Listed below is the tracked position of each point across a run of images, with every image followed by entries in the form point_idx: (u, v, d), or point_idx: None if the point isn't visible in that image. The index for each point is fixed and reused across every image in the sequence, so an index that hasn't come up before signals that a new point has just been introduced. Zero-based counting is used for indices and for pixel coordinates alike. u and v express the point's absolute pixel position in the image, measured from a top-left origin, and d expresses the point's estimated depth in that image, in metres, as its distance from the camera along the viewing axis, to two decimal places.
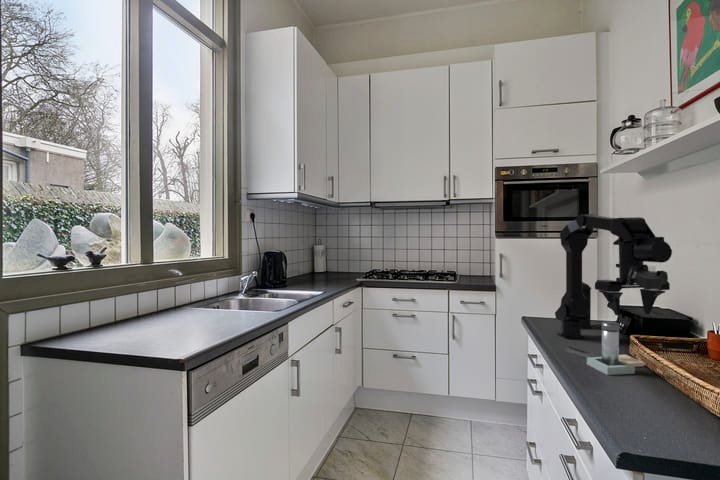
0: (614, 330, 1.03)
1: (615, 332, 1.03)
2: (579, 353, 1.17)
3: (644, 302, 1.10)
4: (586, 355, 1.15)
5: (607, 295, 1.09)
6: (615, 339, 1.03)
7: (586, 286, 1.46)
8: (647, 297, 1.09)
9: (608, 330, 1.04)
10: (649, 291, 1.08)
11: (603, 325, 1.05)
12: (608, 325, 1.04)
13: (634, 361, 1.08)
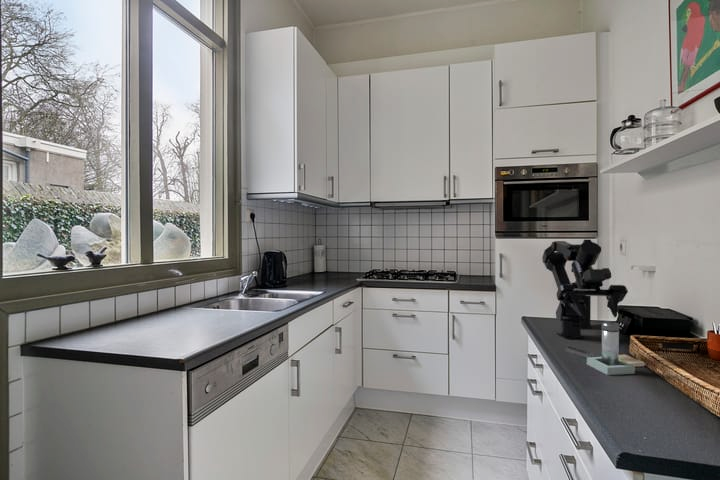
0: (614, 330, 1.03)
1: (615, 332, 1.03)
2: (579, 353, 1.17)
3: (611, 309, 1.14)
4: (586, 355, 1.15)
5: (570, 302, 1.19)
6: (615, 339, 1.03)
7: None
8: (611, 303, 1.15)
9: (608, 330, 1.04)
10: (611, 297, 1.16)
11: (603, 325, 1.05)
12: (608, 325, 1.04)
13: (634, 361, 1.08)
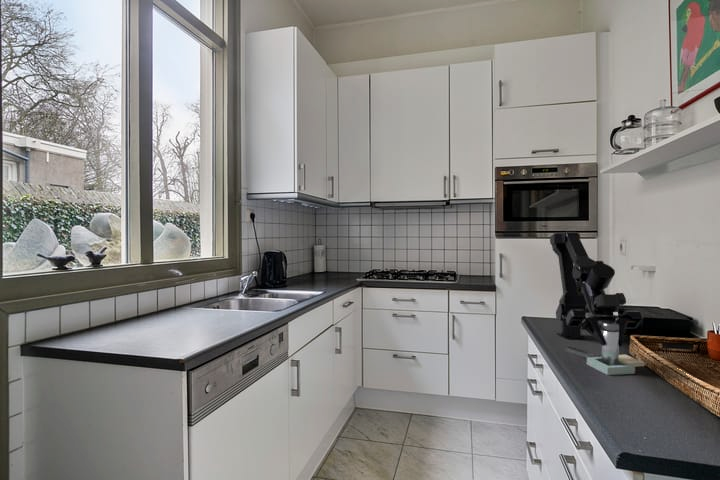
0: (614, 330, 1.03)
1: (615, 332, 1.03)
2: (579, 353, 1.17)
3: None
4: (586, 355, 1.15)
5: (589, 329, 1.10)
6: (615, 339, 1.03)
7: None
8: None
9: (608, 330, 1.04)
10: None
11: (603, 325, 1.05)
12: (608, 325, 1.04)
13: (634, 361, 1.08)
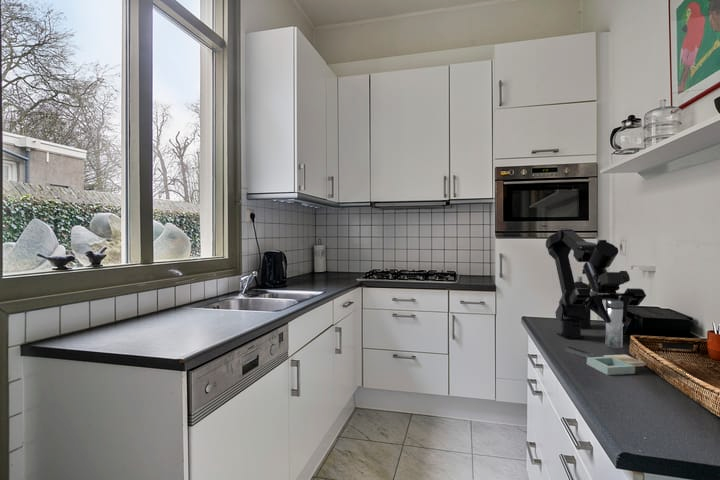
0: (619, 307, 1.04)
1: (619, 309, 1.04)
2: (579, 353, 1.17)
3: None
4: (586, 355, 1.15)
5: (593, 307, 1.10)
6: (620, 316, 1.04)
7: (586, 286, 1.46)
8: None
9: (613, 307, 1.05)
10: None
11: (608, 303, 1.06)
12: (613, 302, 1.05)
13: (634, 361, 1.08)
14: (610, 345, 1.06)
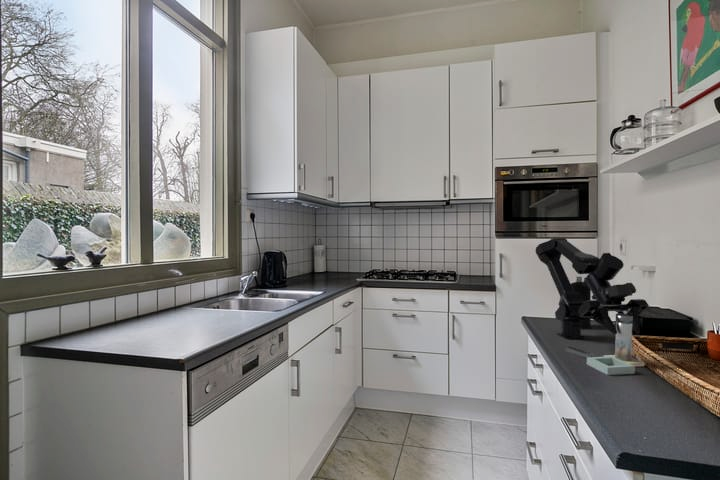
0: (629, 322, 1.08)
1: (630, 324, 1.08)
2: (579, 353, 1.17)
3: None
4: (586, 355, 1.15)
5: (598, 319, 1.13)
6: (630, 330, 1.08)
7: (586, 286, 1.46)
8: None
9: (624, 322, 1.08)
10: (628, 312, 1.13)
11: (618, 317, 1.09)
12: (624, 317, 1.08)
13: (634, 361, 1.08)
14: (621, 358, 1.09)
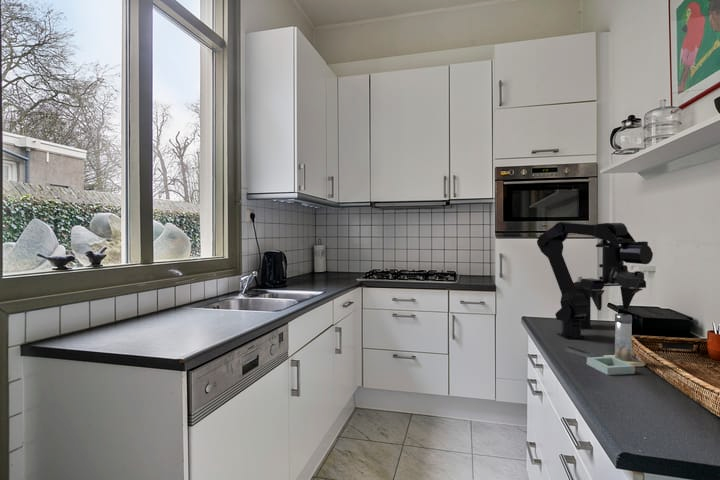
0: (629, 321, 1.08)
1: (629, 324, 1.08)
2: (579, 353, 1.17)
3: (623, 299, 1.23)
4: (586, 355, 1.15)
5: (591, 292, 1.22)
6: (630, 330, 1.08)
7: None
8: (626, 294, 1.22)
9: (623, 322, 1.08)
10: (628, 289, 1.21)
11: (618, 317, 1.09)
12: (623, 317, 1.08)
13: (634, 361, 1.08)
14: (621, 358, 1.09)
